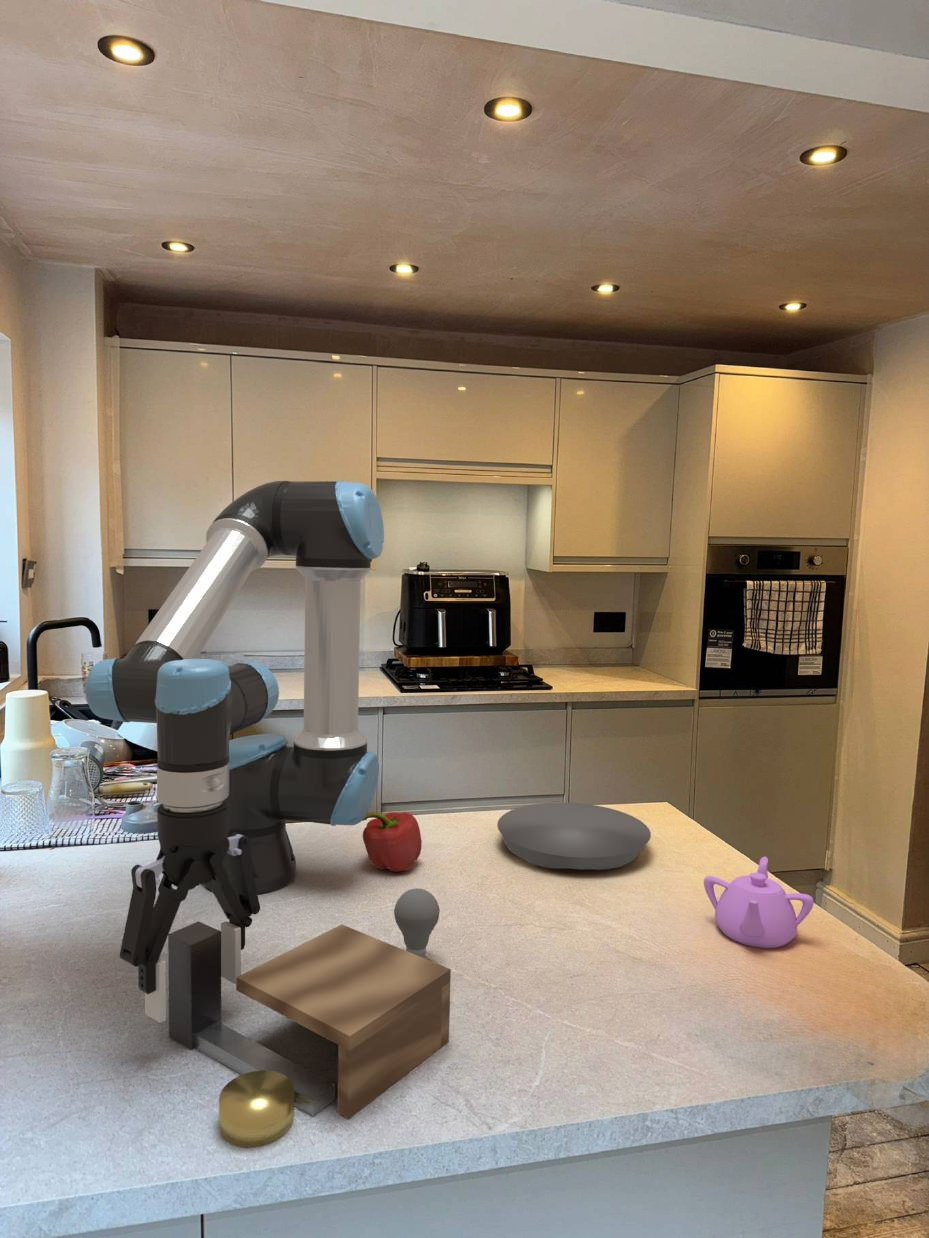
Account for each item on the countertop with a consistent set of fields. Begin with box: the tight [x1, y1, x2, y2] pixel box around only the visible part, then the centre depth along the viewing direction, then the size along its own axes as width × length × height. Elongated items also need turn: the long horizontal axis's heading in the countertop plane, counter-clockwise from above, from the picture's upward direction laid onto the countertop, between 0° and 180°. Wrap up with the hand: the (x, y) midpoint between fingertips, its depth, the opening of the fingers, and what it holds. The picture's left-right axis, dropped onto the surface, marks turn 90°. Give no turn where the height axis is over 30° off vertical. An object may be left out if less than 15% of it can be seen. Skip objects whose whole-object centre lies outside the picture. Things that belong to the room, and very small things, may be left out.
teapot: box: [703, 856, 815, 949], centre depth 121 cm, size 12×14×9 cm
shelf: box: [235, 924, 452, 1120], centre depth 91 cm, size 17×16×8 cm
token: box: [218, 1070, 295, 1149], centre depth 79 cm, size 7×7×3 cm
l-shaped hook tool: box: [167, 920, 336, 1117], centre depth 87 cm, size 22×4×12 cm, turn 55°
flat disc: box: [496, 801, 652, 871], centre depth 152 cm, size 28×28×4 cm
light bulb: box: [393, 888, 440, 959], centre depth 109 cm, size 6×6×10 cm
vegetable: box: [361, 811, 423, 873], centre depth 141 cm, size 11×10×10 cm
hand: (194, 996), depth 92 cm, fingers open, 9 cm apart
